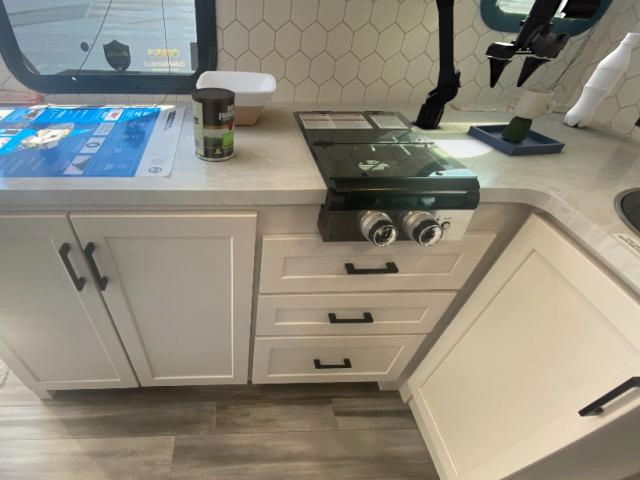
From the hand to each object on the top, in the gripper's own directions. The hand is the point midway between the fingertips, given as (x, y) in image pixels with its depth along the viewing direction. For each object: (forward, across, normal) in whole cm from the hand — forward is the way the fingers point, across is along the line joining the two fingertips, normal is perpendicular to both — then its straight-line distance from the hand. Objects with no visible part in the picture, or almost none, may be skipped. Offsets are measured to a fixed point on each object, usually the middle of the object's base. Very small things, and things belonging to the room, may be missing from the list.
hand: (505, 87), depth 98 cm
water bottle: (+13, +41, +4) cm, 43 cm away
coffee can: (+13, -85, -2) cm, 86 cm away
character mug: (+13, +5, -6) cm, 15 cm away
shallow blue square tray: (+13, +5, -7) cm, 16 cm away
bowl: (+13, -73, +25) cm, 78 cm away
